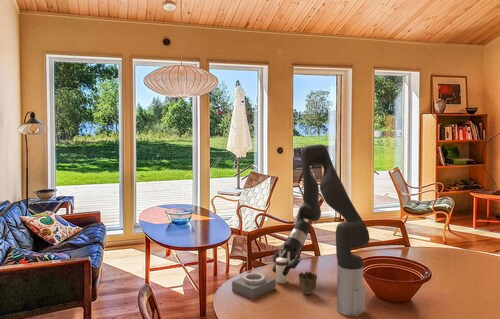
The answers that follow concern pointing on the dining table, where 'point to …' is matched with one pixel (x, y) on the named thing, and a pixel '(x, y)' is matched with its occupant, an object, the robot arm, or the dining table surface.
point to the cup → (307, 282)
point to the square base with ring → (253, 285)
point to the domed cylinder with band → (281, 270)
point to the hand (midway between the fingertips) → (278, 273)
